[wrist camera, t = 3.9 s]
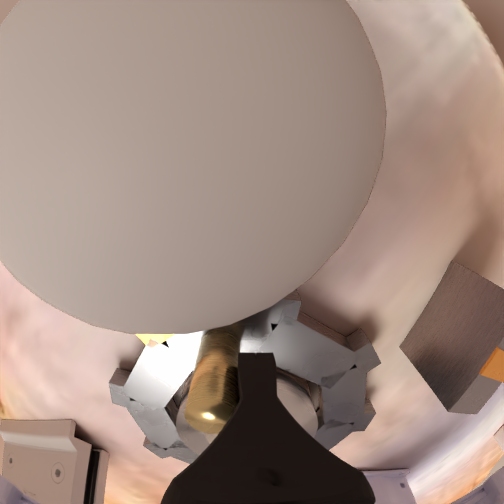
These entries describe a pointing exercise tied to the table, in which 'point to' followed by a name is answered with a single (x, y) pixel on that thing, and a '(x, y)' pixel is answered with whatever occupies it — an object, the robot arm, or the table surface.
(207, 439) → the hub
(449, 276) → the marked link
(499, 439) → the eye dropper bottle
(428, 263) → the table surface
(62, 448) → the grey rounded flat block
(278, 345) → the sprocket
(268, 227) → the lightbulb
